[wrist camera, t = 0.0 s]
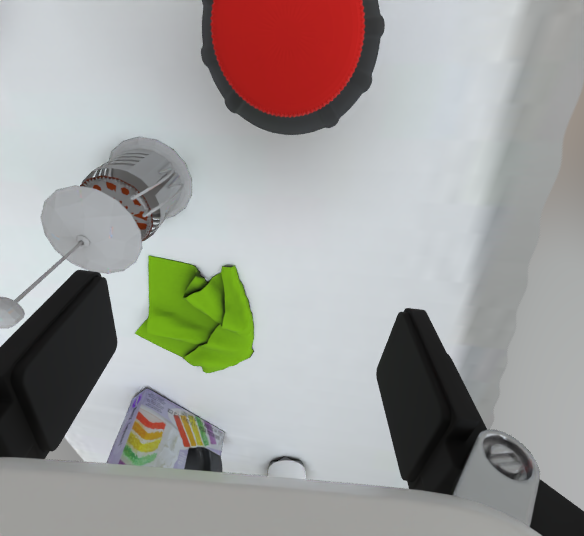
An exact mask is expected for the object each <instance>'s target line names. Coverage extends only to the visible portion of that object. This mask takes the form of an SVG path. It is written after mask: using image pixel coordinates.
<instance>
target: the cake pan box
mask: <svg viewBox="0 0 584 536" xmlns="http://www.w3.org/2000/svg"><path fill="white" fill-rule="evenodd" d="M223 439H224V432H223V431H222V430H220V429H218V428H216V427H215V426H213V425H211V424H209V423H208V422H206V421H204V420H202V419H201V418H199V417H197V416H195V415H194V414H192V413H190V412H188V411H187V410H185V409H183V408H181V407H180V406H178V405H176V404H174V403H173V402H171V401H169V400H167V399H166V398H164V397H162V396H160V395H159V394H157V393H155V392H153V391H151V390H150V389H145V390H143V391H142V392H141V393H139V394H138V395H137V396H135V397H134V398H133V399H132V401H131V404H130V406H129V409H128V411H127V414H126V416H125V419H124V421H123V424H122V426H121V428H120V431H119V433H118V435H117V438H116V440H115V443H114V445H113V448H112V450H111V453H110V455H109V458H108V460H107V463H109V464H122V465H135V466H148V467H161V468H174V469H186V470H199V471H211V472H222V461H221V452H222V445H223Z"/></svg>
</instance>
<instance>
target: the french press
mask: <svg viewBox="0 0 584 536" xmlns="http://www.w3.org/2000/svg"><path fill="white" fill-rule="evenodd" d="M103 165H104V166H103ZM103 165H102V166H101V167H98V168H96V169H95V170H93V171H92V172H91V173H90V174H89V175H88V176H87V177H86V178H85V179H84V180H83V181H82V184H81V185H80V186H71V187H67V188H63V189H59V190H56V191H55V192H54V193H53V194H52V195H51V196H50V197H49V198H48V199H47V200H45V202H44V206H43V210H42V214H41V221H42V225H43V229H44V233H45V236H46V237H47V239H48V240H49V241H50V243H51V244H52V246H53V247H54V249H55V250H56V251H57V252H58V253H59V254H61V255H62V256H63V257H62V258H61V259H60V260H59V261H58V262H57V263H56V264H55V265H53V266H52V267H51V268H50V269H49V270H48V271H47V272H46V273H44V274H43V275H42V276H41V277H40V278H39V279H38V280H37V281H35V282H34V283H33V284H32V285H31V286H30V287H29V288H28V289H26V290H25V291H24V292H23V293H22V294H21V295H20V296H19V297H17V298H16V299H15V300H14V301H13V300H12V299H9V298H6V297H0V328H10V327H13V326H14V325H16V324H17V323H18V322H19V321H20V320H21V319H23V318H24V315H25V313H24V310H23V308H22V307H21V306H20V305H19V304H18V302H19V301H20V300H21V299H22V298H23V297H24V296H25V295H26V294H28V293H29V292H30V291H31V290H32V289H33V288H34V287H35V286H36V285H37V284H39V283H40V282H41V281H42V280H43V279H44V278H45V277H46V276H47V275H48V274H50V273H51V272H52V271H53V270H54V269H55V268H56V267H57V266H58V265H59V264H60V263H62V262H63V261H64V260H65V259H67V260H68V261H69V262H71V263H73V264H75V265H77V266H79V267H81V268H84V269H86V270H88V271H93V272H99V273H106V274H109V273H114V272H119V271H124V270H125V269H127V268H128V267H130V266H131V265H132V264H134V263H135V262H136V261H137V259H138V256H139V254H140V252H141V250H142V241H145V240H146V239H148V238H149V237H151V236H152V235H153V234H154V233H155V232H156V231H155V230H157V229H158V228H159V226H160V225H161V223H163V221H164V220H165V219H166V218H169V217H173V216H175V215H177V214H178V213H179V212H181V211H182V210H183V209H185V208H186V206H187V204H188V202H189V200H190V197H191V195H192V179H191V176H190V173H189V171H188V168H187V166H186V163H185V162H184V161H183V160H182V159H181V158H180V157H179V155H178V154H177V153H176V152H175V151H174V150H173V149H172V148H170V147H168V146H167V145H165V144H163V143H161V142H160V141H158V140H155V139H148V138H142V137H137V138H133V139H129V140H125V141H123V142H122V143H120V144H119V145H118V146H117V147H116V148H115V149H114V150H113V151H112V152H111V155H110V158H109V161H108V162H107V163H105V164H103ZM102 168H103V169H102ZM105 168H107V170H106V175H105V176H104V171H105ZM101 169H102V171H101V176H99V172H100V170H101ZM96 170H98V171H97V173H96V175H95V177H93V175H94V173H95V172H96ZM92 177H93V178H92ZM152 218H154V219H161V220H153V219H152ZM153 222H157V223H159V222H160V223H159V224H158V225H159V226H158V225H153ZM157 226H158V227H157ZM152 227H157V228H155V229H154V230H151V229H152ZM153 231H154V232H153ZM151 232H153V233H151ZM150 233H151V234H150ZM149 234H150V235H149Z"/></svg>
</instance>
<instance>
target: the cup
mask: <svg viewBox="0 0 584 536" xmlns="http://www.w3.org/2000/svg"><path fill="white" fill-rule="evenodd" d="M267 476H272V477H284V478H296V479H306V473H305V468H304V466H303V464H302V462H301V461H299V460H296V461H293V460H290V459H289V458H288V457H283V458H282V459H281V460H279V461H277V462H276V461H273V462H271V464H270V466H269V469H268V475H267Z"/></svg>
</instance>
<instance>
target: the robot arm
mask: <svg viewBox="0 0 584 536" xmlns="http://www.w3.org/2000/svg"><path fill="white" fill-rule="evenodd" d="M116 347H117V336H116V331H115V325H114V319H113V314H112V308H111V302H110V297H109V291H108V285H107V281H106V279H105V278H104V277H101V274H100V273H99V272H93V271H85V270H77V271H76V272H74V273H73V274H72V275H71V276H70V277H69V278H68V279H67V281H66V282H65V283H64V284H63V285H62V286H61V287H60V288H59V289H58V290H57V291H56V292H55V293H54V294H53V295H52V296H51V297H50V298H49V299H48V300H47V301H46V302H45V303H44V304H43V305H42V306H41V307H40V308H39V309H38V310H37V311H36V312H35V313H34V314H33V315H32V316H31V317H30V318H29V319H28V320H27V321H26V322H25V323H24V324H23V325H22V326H21V327H20V328H19V329H18V330H17V331H16V332H15V333H14V334H13V335H12V336H11V337H10V338H9V339H8V340H7V341H6V342H5V343H4V344H3V345H2V346H1V347H0V536H584V511H582V510H581V509H580V508H578V507H577V506H576V505H574V504H573V503H572V502H570V501H569V500H567V499H566V498H565V497H563V496H562V495H561V494H559V493H558V492H556V491H555V490H554V489H552V488H551V487H550V486H548V485H547V484H546V483H544V482H543V481H542V480H540V471H539V467H538V465H537V462H536V460H535V459H534V457H533V456H532V454H531V453H530V452H529V450H528V449H527V448H526V447H525V446H524V445H523V444H522V443H520V442H519V441H518V440H516V439H515V438H514V437H512V436H510V435H508V434H506V433H504V432H501V431H498V430H487V428H486V426H485V424H484V422H483V420H482V418H481V416H480V414H479V412H478V411H477V409H476V407H475V405H474V403H473V401H472V399H471V397H470V395H469V393H468V391H467V389H466V387H465V385H464V383H463V381H462V379H461V377H460V375H459V373H458V371H457V369H456V367H455V365H454V363H453V361H452V359H451V358H450V356H449V355H448V354H447V353H446V351H445V349H444V347H443V345H442V343H441V341H440V339H439V337H438V335H437V333H436V331H435V329H434V327H433V325H432V323H431V321H430V319H429V317H428V315H427V313H426V311H424V310H419V309H411V308H406V309H405V310H404V312H399V314H398V316H397V318H396V321H395V323H394V326H393V328H392V331H391V334H390V336H389V339H388V341H387V344H386V346H385V349H384V352H383V354H382V357H381V359H380V362H379V365H378V367H377V374H376V375H377V381H378V385H379V389H380V393H381V397H382V402H383V406H384V410H385V414H386V418H387V422H388V426H389V430H390V434H391V438H392V442H393V446H394V450H395V454H396V458H397V462H398V466H399V470H400V474H401V477H402V479H403V480H406V481H407V482H408V486H409V489H403V488H394V487H384V486H375V485H365V484H353V483H342V482H330V481H319V480H307V479H296V478H284V477H272V476H260V475H248V474H236V473H224V472H211V471H199V470H186V469H174V468H161V467H148V466H135V465H122V464H109V463H96V462H81V461H66V460H50V459H45V457H46V456H47V454H48V453H49V451H54V450H55V449H56V448H57V447H58V446H59V444H60V443H61V441H62V439H63V438H64V436H65V434H66V433H67V431H68V429H69V428H70V426H71V424H72V423H73V421H74V419H75V418H76V416H77V414H78V412H79V411H80V409H81V407H82V406H83V404H84V402H85V401H86V399H87V397H88V396H89V394H90V392H91V391H92V389H93V387H94V386H95V384H96V382H97V381H98V379H99V377H100V376H101V374H102V372H103V371H104V369H105V367H106V366H107V364H108V362H109V361H110V359H111V357H112V356H113V354H114V352H115V350H116Z"/></svg>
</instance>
